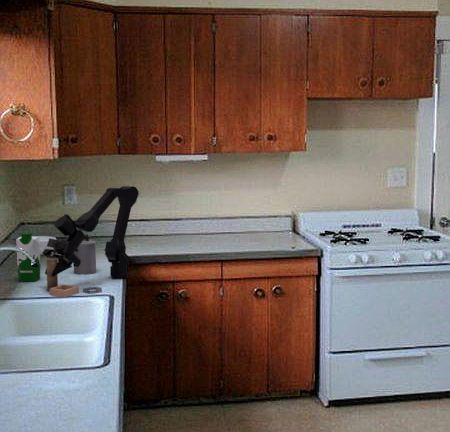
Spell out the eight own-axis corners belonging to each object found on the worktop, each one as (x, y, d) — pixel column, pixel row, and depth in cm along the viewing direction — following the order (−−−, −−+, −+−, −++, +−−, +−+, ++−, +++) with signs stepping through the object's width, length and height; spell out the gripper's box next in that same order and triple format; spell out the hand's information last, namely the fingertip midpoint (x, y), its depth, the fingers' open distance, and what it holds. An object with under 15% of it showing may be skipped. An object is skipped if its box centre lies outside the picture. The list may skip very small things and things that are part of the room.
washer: (101, 288, 257) (101, 286, 257) (102, 292, 250) (102, 290, 250) (82, 289, 255) (82, 287, 255) (83, 293, 249) (83, 291, 248)
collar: (63, 290, 254) (63, 284, 253) (78, 293, 250) (78, 286, 250) (49, 295, 247) (49, 288, 247) (65, 297, 243) (64, 290, 243)
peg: (58, 289, 256) (57, 256, 254) (58, 292, 252) (57, 258, 250) (47, 290, 255) (45, 257, 253) (46, 292, 251) (45, 259, 249)
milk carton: (16, 282, 269) (13, 234, 266) (22, 277, 278) (20, 231, 275) (37, 282, 269) (35, 234, 267) (42, 277, 278) (41, 231, 276)
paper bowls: (58, 254, 331) (58, 239, 330) (27, 257, 326) (26, 241, 325) (54, 250, 345) (54, 235, 344) (25, 252, 340) (24, 237, 339)
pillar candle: (72, 271, 291) (71, 237, 289) (94, 269, 294) (93, 236, 292) (75, 275, 282) (74, 241, 280) (98, 273, 285) (97, 240, 283)
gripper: (45, 228, 260) (22, 259, 253) (73, 232, 247) (49, 265, 240) (63, 245, 266) (40, 276, 260) (91, 250, 254) (68, 283, 247)
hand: (49, 275), depth 251 cm, fingers closed on peg, 4 cm apart
